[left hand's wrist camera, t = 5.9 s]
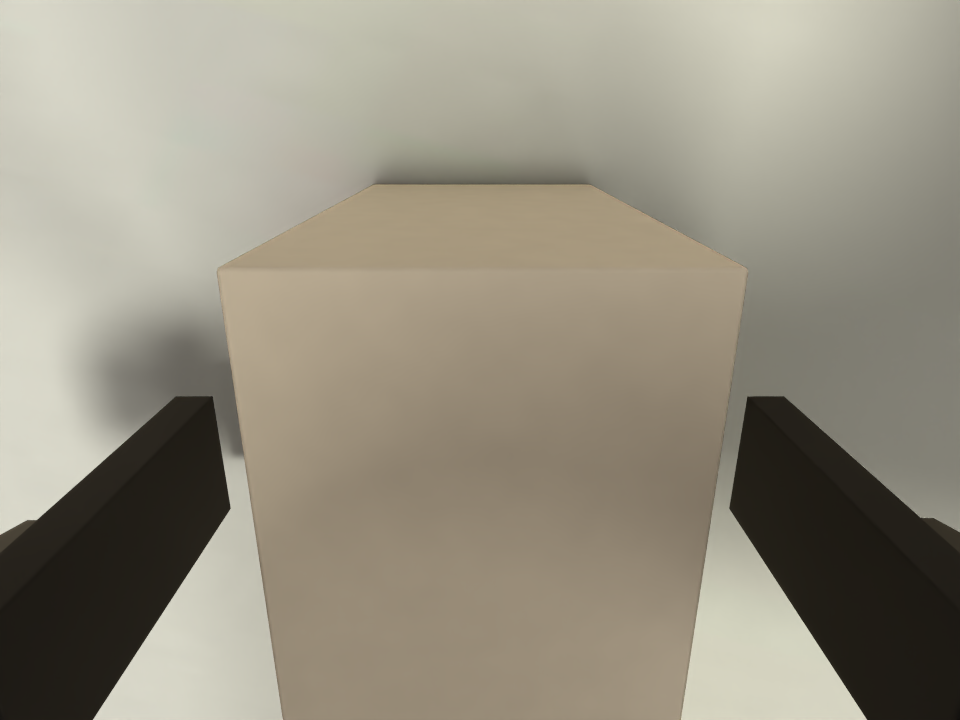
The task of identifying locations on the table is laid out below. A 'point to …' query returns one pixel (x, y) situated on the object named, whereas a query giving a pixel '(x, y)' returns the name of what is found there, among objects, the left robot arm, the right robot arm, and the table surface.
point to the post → (482, 450)
